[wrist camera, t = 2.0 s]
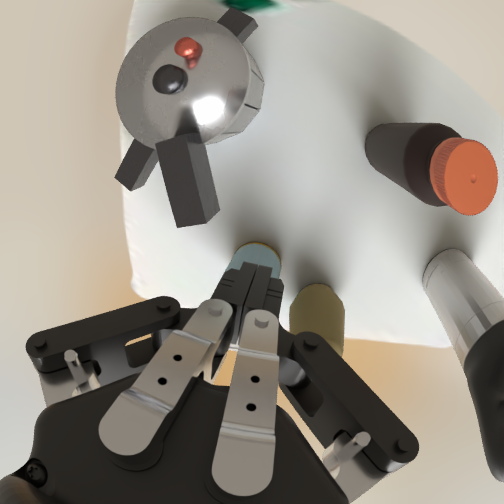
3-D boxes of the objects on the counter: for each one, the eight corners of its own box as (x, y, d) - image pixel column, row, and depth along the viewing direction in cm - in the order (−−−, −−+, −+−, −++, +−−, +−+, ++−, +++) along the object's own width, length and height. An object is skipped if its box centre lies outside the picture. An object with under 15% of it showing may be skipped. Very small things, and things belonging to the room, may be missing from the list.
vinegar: (354, 153, 31) (410, 185, 13) (382, 112, 28) (464, 102, 10) (393, 184, 32) (471, 249, 14) (421, 146, 28) (519, 175, 11)
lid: (114, 52, 22) (88, 47, 18) (235, 4, 18) (221, -15, 14) (151, 220, 30) (129, 235, 26) (277, 200, 26) (272, 214, 22)
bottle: (284, 244, 38) (270, 310, 25) (277, 286, 41) (261, 359, 28) (236, 236, 39) (199, 296, 26) (233, 278, 42) (200, 345, 29)
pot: (216, 13, 25) (190, -12, 17) (300, 64, 27) (298, 44, 19) (123, 146, 36) (84, 155, 28) (190, 200, 38) (160, 221, 30)
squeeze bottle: (298, 270, 40) (288, 364, 24) (350, 283, 39) (366, 378, 23) (285, 312, 43) (269, 406, 27) (332, 323, 43) (335, 417, 27)
